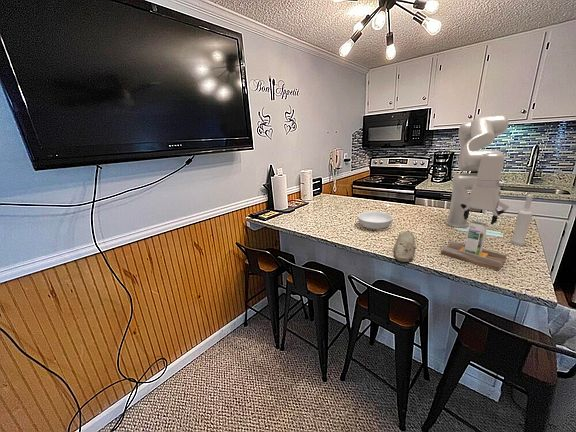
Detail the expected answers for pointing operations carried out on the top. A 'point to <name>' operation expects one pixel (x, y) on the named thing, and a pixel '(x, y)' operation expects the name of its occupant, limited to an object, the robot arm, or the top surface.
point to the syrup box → (475, 237)
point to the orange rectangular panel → (479, 255)
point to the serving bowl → (375, 219)
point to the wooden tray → (475, 256)
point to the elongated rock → (405, 247)
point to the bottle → (522, 223)
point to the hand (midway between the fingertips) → (478, 221)
